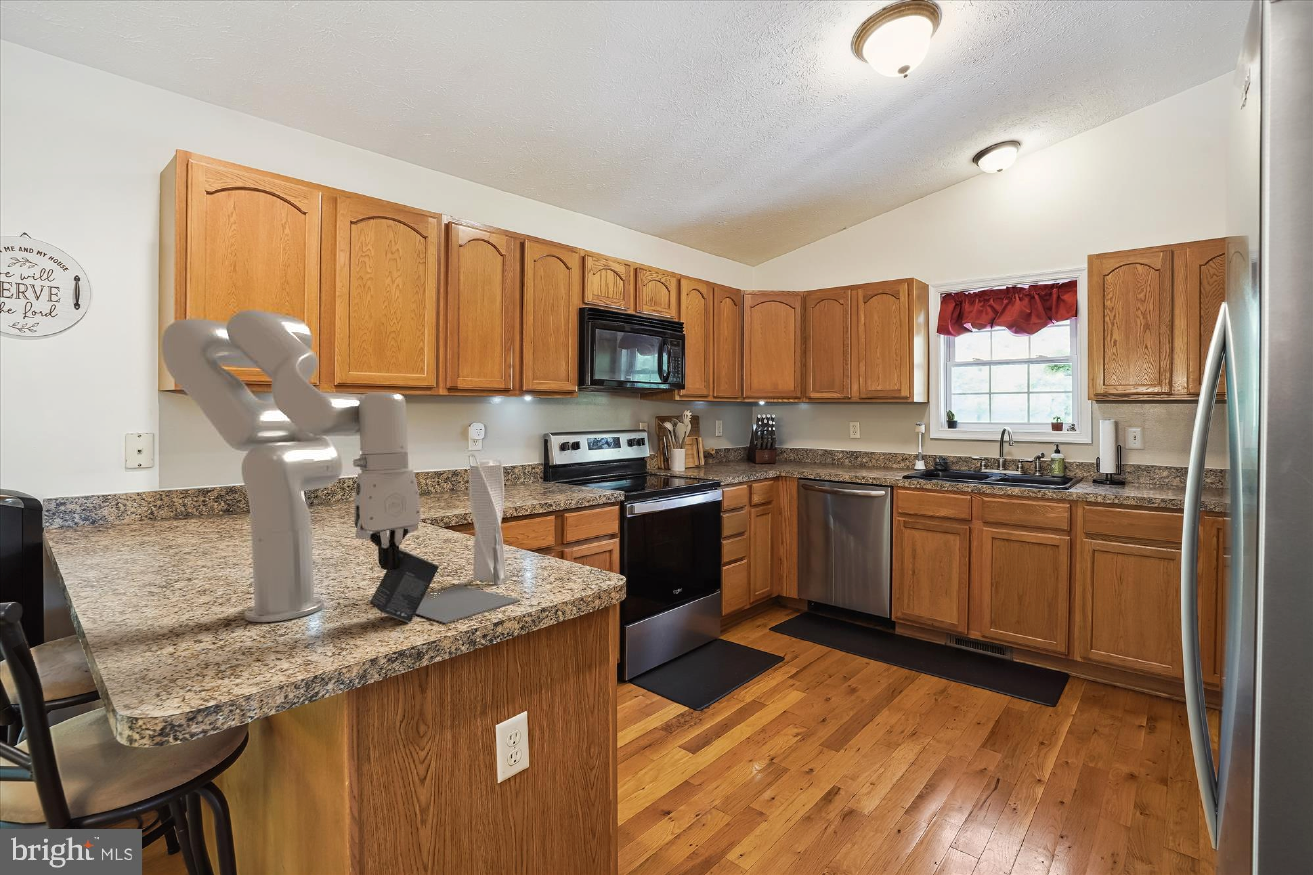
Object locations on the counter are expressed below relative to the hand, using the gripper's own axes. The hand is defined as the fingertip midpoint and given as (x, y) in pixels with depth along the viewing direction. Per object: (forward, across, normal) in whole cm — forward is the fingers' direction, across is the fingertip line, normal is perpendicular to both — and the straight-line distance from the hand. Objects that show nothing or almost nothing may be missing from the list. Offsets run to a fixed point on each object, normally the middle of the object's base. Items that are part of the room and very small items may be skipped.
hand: (389, 568), depth 107 cm
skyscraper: (+10, +27, +10) cm, 30 cm away
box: (+8, 0, 0) cm, 8 cm away
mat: (+9, +12, 0) cm, 15 cm away
